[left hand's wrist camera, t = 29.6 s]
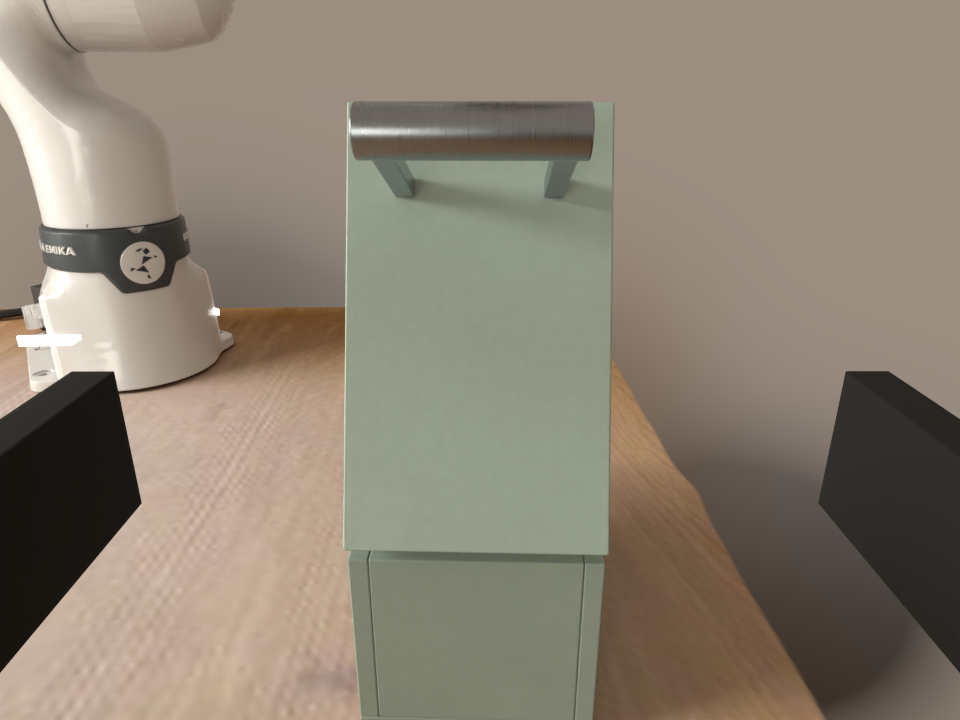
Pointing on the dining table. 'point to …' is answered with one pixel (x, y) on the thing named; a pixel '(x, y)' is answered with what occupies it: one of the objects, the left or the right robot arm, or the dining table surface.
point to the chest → (476, 634)
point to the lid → (478, 326)
